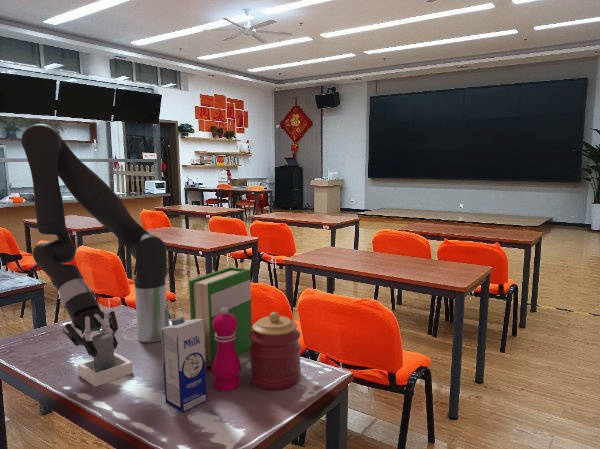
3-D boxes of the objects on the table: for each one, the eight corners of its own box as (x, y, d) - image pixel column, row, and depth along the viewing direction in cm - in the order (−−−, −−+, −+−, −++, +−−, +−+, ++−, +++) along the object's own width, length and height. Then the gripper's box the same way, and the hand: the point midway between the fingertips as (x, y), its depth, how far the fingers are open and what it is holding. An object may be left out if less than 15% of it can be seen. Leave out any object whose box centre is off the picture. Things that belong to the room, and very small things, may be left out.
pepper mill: (236, 393, 109) (233, 313, 106) (207, 390, 110) (204, 311, 108) (245, 379, 116) (243, 303, 113) (218, 377, 117) (215, 302, 115)
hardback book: (214, 371, 121) (210, 283, 118) (193, 365, 124) (188, 280, 121) (252, 347, 136) (250, 269, 133) (232, 343, 140) (230, 266, 136)
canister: (311, 377, 117) (310, 311, 114) (276, 397, 107) (274, 325, 105) (275, 363, 125) (274, 301, 123) (239, 380, 115) (237, 313, 113)
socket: (114, 362, 127) (114, 352, 127) (132, 372, 120) (132, 362, 120) (78, 374, 120) (77, 364, 119) (95, 386, 113) (94, 375, 113)
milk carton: (181, 413, 100) (177, 326, 98) (164, 403, 105) (159, 320, 102) (207, 400, 106) (204, 318, 103) (190, 391, 110) (186, 312, 107)
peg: (108, 360, 123) (106, 331, 122) (118, 364, 120) (116, 335, 119) (90, 366, 119) (88, 337, 118) (100, 371, 116) (98, 341, 115)
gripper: (55, 297, 116) (83, 353, 111) (107, 285, 128) (135, 335, 122) (47, 313, 120) (73, 368, 115) (98, 300, 132) (124, 350, 126)
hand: (105, 351), depth 119 cm, fingers closed on peg, 5 cm apart
